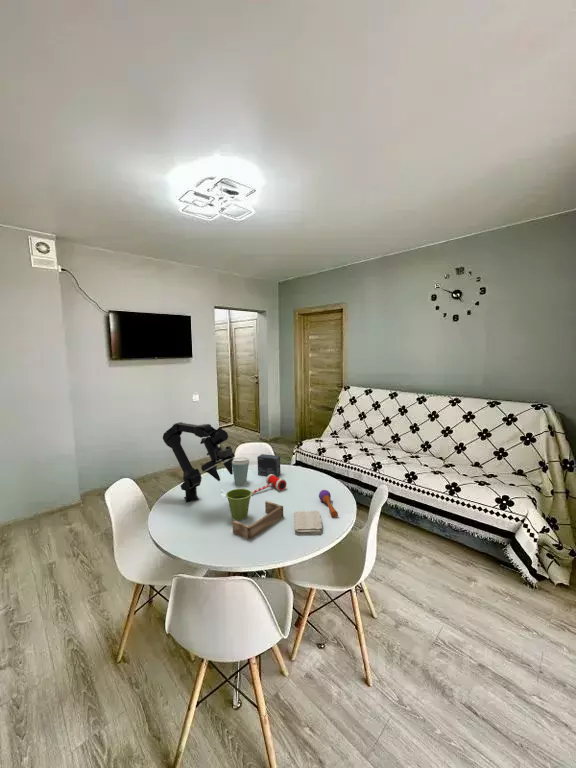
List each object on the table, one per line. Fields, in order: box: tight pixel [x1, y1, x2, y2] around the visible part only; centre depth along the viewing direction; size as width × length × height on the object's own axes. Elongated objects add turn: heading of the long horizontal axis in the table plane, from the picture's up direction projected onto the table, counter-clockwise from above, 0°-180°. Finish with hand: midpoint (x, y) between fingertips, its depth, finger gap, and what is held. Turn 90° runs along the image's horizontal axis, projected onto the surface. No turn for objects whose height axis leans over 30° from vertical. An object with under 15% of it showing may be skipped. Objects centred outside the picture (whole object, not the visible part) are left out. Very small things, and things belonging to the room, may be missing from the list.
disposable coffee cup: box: [232, 456, 250, 486], centre depth 190 cm, size 11×11×15 cm
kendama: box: [318, 489, 339, 518], centre depth 158 cm, size 6×6×20 cm
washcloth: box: [293, 510, 323, 536], centre depth 143 cm, size 12×18×3 cm, turn 0°
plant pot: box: [225, 488, 253, 521], centre depth 150 cm, size 12×12×11 cm
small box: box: [256, 453, 281, 478], centre depth 203 cm, size 13×7×12 cm, turn 69°
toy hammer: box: [251, 474, 288, 495], centre depth 178 cm, size 23×12×6 cm, turn 127°
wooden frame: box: [231, 500, 284, 541], centre depth 143 cm, size 10×23×5 cm, turn 145°
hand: (225, 477), depth 157 cm, fingers open, 9 cm apart
